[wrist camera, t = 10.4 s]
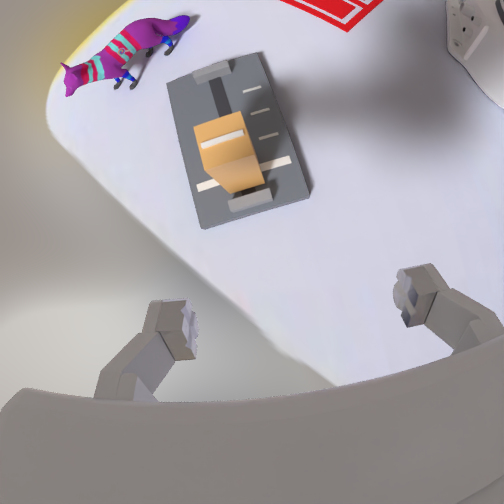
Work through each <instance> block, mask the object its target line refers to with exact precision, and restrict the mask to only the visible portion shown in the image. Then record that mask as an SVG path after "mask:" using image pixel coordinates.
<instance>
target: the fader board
mask: <svg viewBox="0 0 504 504" xmlns="http://www.w3.org/2000/svg"><path fill="white" fill-rule="evenodd" d="M166 84H167V89H168V94H169V98H170V103H171V108H172V112H173V117H174V121H175V126H176V130H177V134H178V139H179V143H180V147H181V151H182V156H183V160H184V164H185V168H186V172H187V176H188V180H189V184H190V188H191V192H192V196H193V200H194V204H195V208H196V212H197V215H198V219H199V223H200V227H201V229H208V228H211V227H215V226H218V225H221V224H224V223H227V222H231V221H234V220H237V219H240V218H244V217H247V216H250V215H254V214H257V213H260V212H264V211H267V210H270V209H274V208H277V207H281V206H284V205H287V204H291V203H294V202H298V201H301V200H305V199H308V198H309V197H310V194H309V191H308V188H307V185H306V182H305V179H304V176H303V173H302V170H301V167H300V164H299V161H298V158H297V155H296V152H295V150H294V147H293V144H292V141H291V138H290V136H289V133H288V130H287V127H286V125H285V122H284V119H283V117H282V114H281V111H280V109H279V106H278V103H277V101H276V98H275V96H274V93H273V91H272V88H271V86H270V83H269V81H268V78H267V76H266V73H265V71H264V69H263V66H262V64H261V61H260V59H259V57H258V54H257V53H253V54H250V55H246V56H243V57H239V58H236V59H233V60H229V61H227V60H225V61H222V62H219V63H216V64H213V65H210V66H207V67H204V68H201V69H199V70H196V71H193V72H192V73H191V74H189V75H186V76H183V77H181V78H178V79H176V80H173V81H171V82H169V83H166ZM238 111H241V114H242V117H243V119H244V122H245V125H246V128H247V130H248V133H249V136H250V139H251V141H252V144H253V147H254V150H255V153H256V156H257V159H258V162H259V165H260V168H261V172H262V175H263V178H264V181H265V184H261V185H258V186H255V187H251V188H248V189H245V190H242V191H238V192H235V193H232V194H230V193H228V192H227V191H226V190H225V189H224V188H223V187H222V186H221V185H220V184H219V183H218V182H216V181H215V180H214V179H213V178H212V177H211V176H210V175H209V174H208V173H207V172H206V171H205V170H204V167H203V163H202V159H201V155H200V151H199V147H198V144H197V140H196V136H195V132H194V128H193V127H195V126H197V125H200V124H203V123H206V122H208V121H211V120H214V119H217V118H220V117H223V116H226V115H229V114H232V113H235V112H238Z"/></svg>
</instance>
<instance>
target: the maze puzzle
mask: <svg viewBox="0 0 504 504" xmlns="http://www.w3.org/2000/svg"><path fill="white" fill-rule="evenodd" d="M280 1H283V2H285V3H288V4H290V5H292V6H295V7H297V8H299V9H302V10H304V11H306V12H308V13H310V14H313V15H315V16H317V17H319V18H321V19H323V20H325V21H327V22H329V23H331V24H333V25H334V26H336V27H338V28H340V29H342V30H344V31H346V32H348V31H349V30H351V29H352V28H353V27H354V26H355V25H356V24H357V23H358V22H359V21H360V20H361V19H363V18H364V17H365V16H366V15H367V14H368V13H369V12H370V11H372V10H373V9H374V8H375V7H376V6H377V5H378V4H380V3H381V2H382V1H383V0H373V1H372V2H370V3H369V4H368V5H367V4H365V3H363V2H361V1H359V0H349V1H351V2H353V3H355V4H357V5H359V6H360V7H362V8H363V9H362V10H361V11H360V12H359V13H357V14H356V15H355V16H354V17H353V18H352V19H351V20H349V21H348V22H347V23H346V24H343V23H341V22H339V21H337V20H335V19H333V18H331V17H329V16H327V15H325V14H323V13H321V12H319V11H317V10H315V9H313V8H310V7H308V6H306V5H304V4H301V3H299V2H297V1H294V0H280ZM303 1H305V2H307V3H309V4H312V5H314V6H316V7H318V8H320V9H322V10H325V11H327V12H329V13H331V14H333V15H335V16H337V17H339V18H340V19H343V18H344V17H345V16H346V15H348V14H349V13H350V12H351V11H352V10H353V9H355V6H353V5H351V4H349V3H347V2H345V1H343V0H303Z"/></svg>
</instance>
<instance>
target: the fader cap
mask: <svg viewBox="0 0 504 504" xmlns="http://www.w3.org/2000/svg"><path fill="white" fill-rule="evenodd" d="M193 128H194V132H195V136H196V140H197V144H198V147H199V151H200V155H201V159H202V163H203V167H204V170H205V171H206V172H207V173H208V174H209V175H210V176H211V177H212V178H213V179H214V180H215V181H216V182H218V183H219V184H220V185H221V186H222V187H223V188H224V189H225V190H226V191H227V192H228V193H230V194H232V193H235V192H238V191H242V190H245V189H248V188H251V187H255V186H258V185H261V184H265V181H264V178H263V175H262V172H261V168H260V165H259V162H258V159H257V156H256V153H255V150H254V147H253V144H252V141H251V139H250V136H249V133H248V130H247V128H246V125H245V122H244V119H243V117H242V114H241V111H238V112H235V113H232V114H229V115H226V116H223V117H220V118H217V119H214V120H211V121H208V122H206V123H203V124H200V125H197V126H195V127H193Z"/></svg>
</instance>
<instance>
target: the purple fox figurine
mask: <svg viewBox="0 0 504 504" xmlns="http://www.w3.org/2000/svg"><path fill="white" fill-rule="evenodd" d="M189 20H190V17H189V16H185V15H182V16H178V17H175V18H172V19H170V20H162V19H157V18H145V19H140V20H137V21H134V22H132V23H131V24H129V25H128V26H126V27H125V28H124V29H123V30H122V31H121V32H120V33H119V34H118V35H117V36H116V37H115V38H114V39H113V40H112V41H111V42H110V43H109V44H108V45H107V46H106V47H105V48H104V49H103V50H102V51H100V52H99V53H97V54H96V55H94V56H93V57H92V58H91V59H90V60H89V61H87V62H85V63H82V64H79V65H77V66H74V67H72V68H70V67H69V66H67V65H65V64H63V63H61V64H62V66H63V67H64V68H65V70H66V74H65V78H64V84H65V85H66V87H67V88H66V95H65V96H66V97H68V96H71V95H73V93H74V92H75V90H76V89H77V88H78V87H80V86H82V85H85V84H88V83H91V82H95V81H99V80H104V79H113V78H114V79H115V80H116V81H117V84H116V85H114V89H118V88H119V86H120V85H121V80H120V79H119V77H123V78H127V79H129V80H131V81H132V82H133V83H132V84H131V85H130V89H133V88H135V86H136V85H137V81H136V79H135V78H134V77H133V76H132V75H130V73H129V72H128V71H127V70H126V69H122V68H121V67H122V66H123V65H124V64H125V63H126V62H127V61H128V60H129V59H130V58H131V57H132V56H133V55H134V54H135V53H136V52H137V51H138V50H140V49H147V48H149V51H148V52H147V53H146V56H147V57H149V56H151V54H152V52H153V46H156V45H158V44H160V43H166V44H167V45H168V46H169V49H168V50H167V51H165V53H164V55H169V54H170V53H171V52H172V50H173V43H172V41H171V39H170V38H169V37H168V36H171V35H175V34H177V33H179V32H181V31H182V30H183V29H184V28H185V27H186V26H187V25H188V23H189ZM157 34H158V35H161V36H158V35H157Z"/></svg>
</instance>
